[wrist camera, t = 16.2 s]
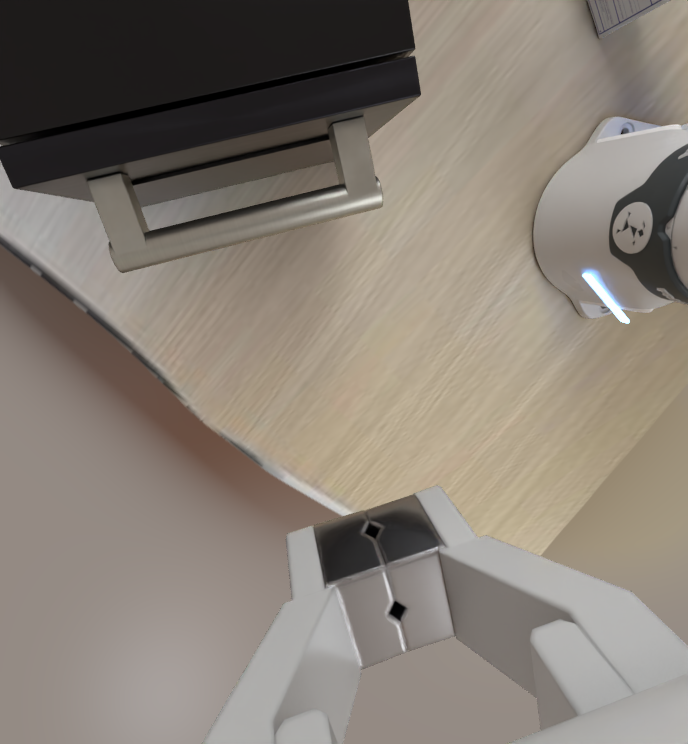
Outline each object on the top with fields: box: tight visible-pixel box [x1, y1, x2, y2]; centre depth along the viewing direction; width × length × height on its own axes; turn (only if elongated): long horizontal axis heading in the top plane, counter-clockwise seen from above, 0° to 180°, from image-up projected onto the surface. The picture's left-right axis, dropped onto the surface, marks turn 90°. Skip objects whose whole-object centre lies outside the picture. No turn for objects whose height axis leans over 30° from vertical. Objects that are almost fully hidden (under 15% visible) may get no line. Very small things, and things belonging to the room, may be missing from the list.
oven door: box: [0, 56, 421, 273], centre depth 29 cm, size 6×18×20 cm, turn 103°
